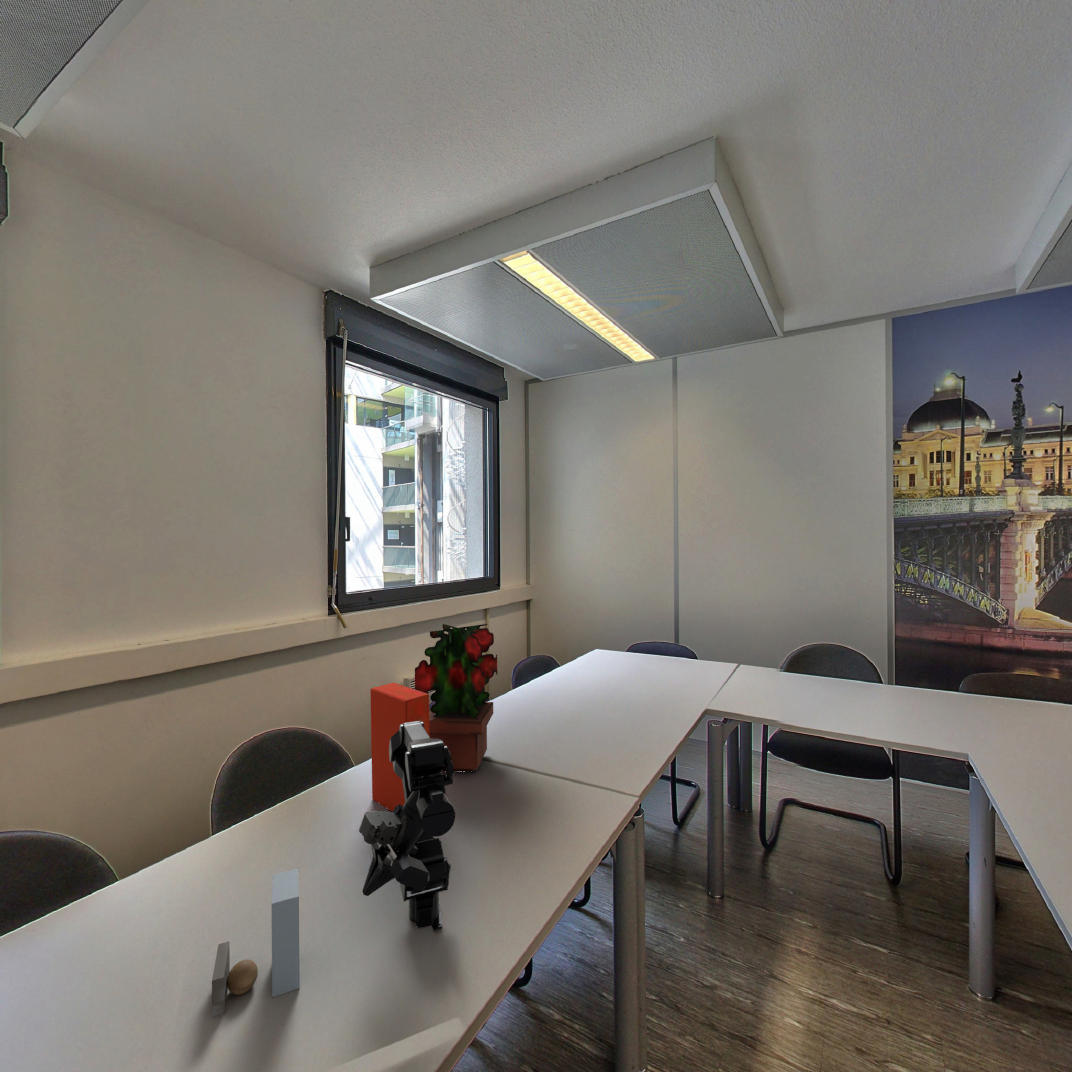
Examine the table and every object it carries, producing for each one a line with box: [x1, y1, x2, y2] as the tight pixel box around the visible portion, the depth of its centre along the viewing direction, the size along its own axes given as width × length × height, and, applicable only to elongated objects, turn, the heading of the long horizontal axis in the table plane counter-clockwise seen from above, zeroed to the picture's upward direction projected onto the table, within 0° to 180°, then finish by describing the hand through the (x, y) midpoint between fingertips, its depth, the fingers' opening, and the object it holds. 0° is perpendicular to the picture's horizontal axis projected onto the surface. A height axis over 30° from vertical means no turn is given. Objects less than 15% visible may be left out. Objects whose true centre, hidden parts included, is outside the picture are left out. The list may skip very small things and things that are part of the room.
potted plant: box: [414, 623, 498, 773], centre depth 173 cm, size 22×22×45 cm
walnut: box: [227, 959, 259, 996], centre depth 85 cm, size 4×4×4 cm
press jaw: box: [270, 868, 301, 998], centre depth 88 cm, size 4×8×15 cm, turn 25°
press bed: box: [211, 940, 231, 1019], centre depth 88 cm, size 20×11×7 cm, turn 115°
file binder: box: [370, 682, 430, 812], centre depth 147 cm, size 8×17×32 cm, turn 47°
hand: (364, 894), depth 92 cm, fingers closed
